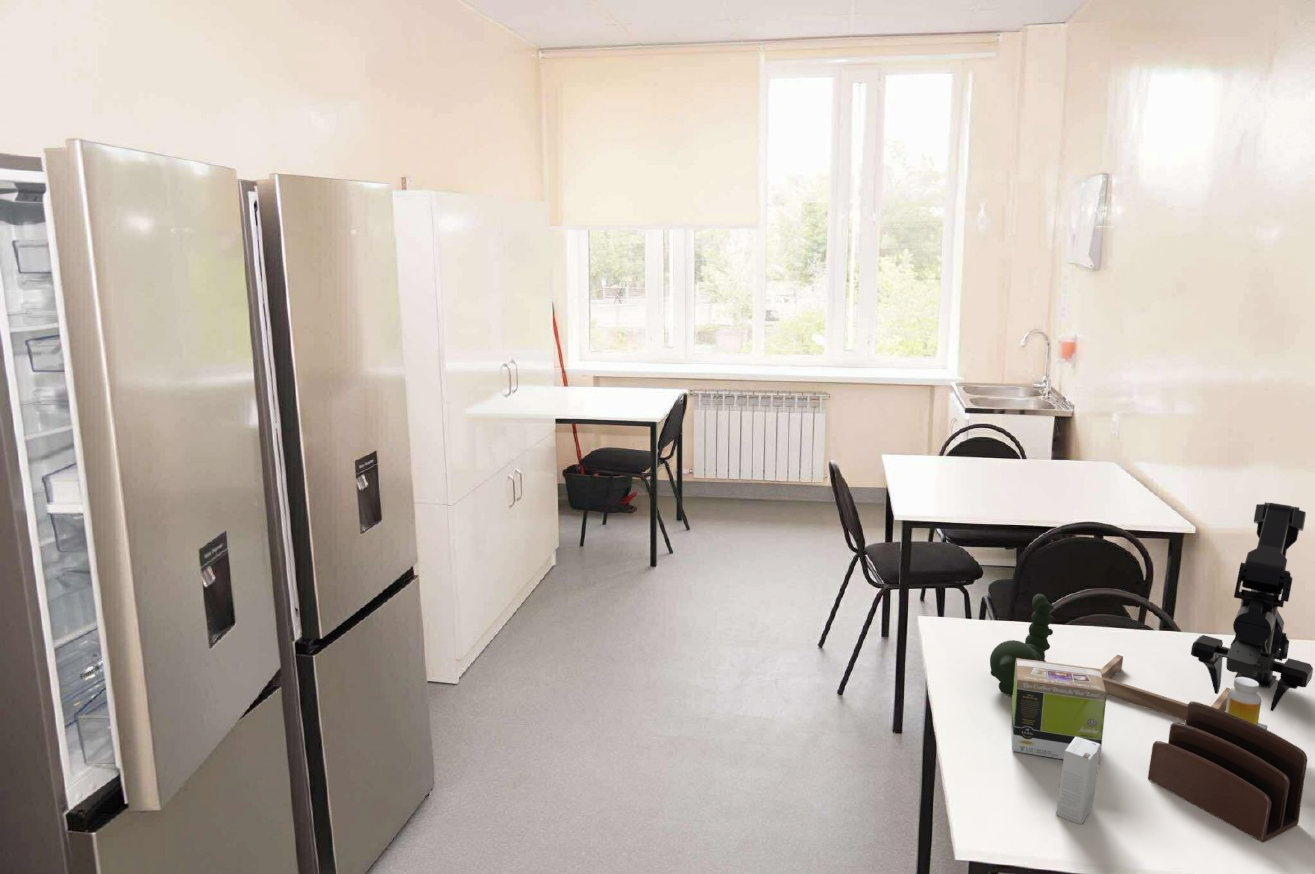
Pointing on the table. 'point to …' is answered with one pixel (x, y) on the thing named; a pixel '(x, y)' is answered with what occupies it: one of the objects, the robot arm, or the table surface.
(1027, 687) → the tea box
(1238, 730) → the letter holder
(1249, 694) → the supplement bottle
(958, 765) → the table surface
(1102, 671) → the walnut stall
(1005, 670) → the toy figurine
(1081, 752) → the skincare box
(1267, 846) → the table surface
